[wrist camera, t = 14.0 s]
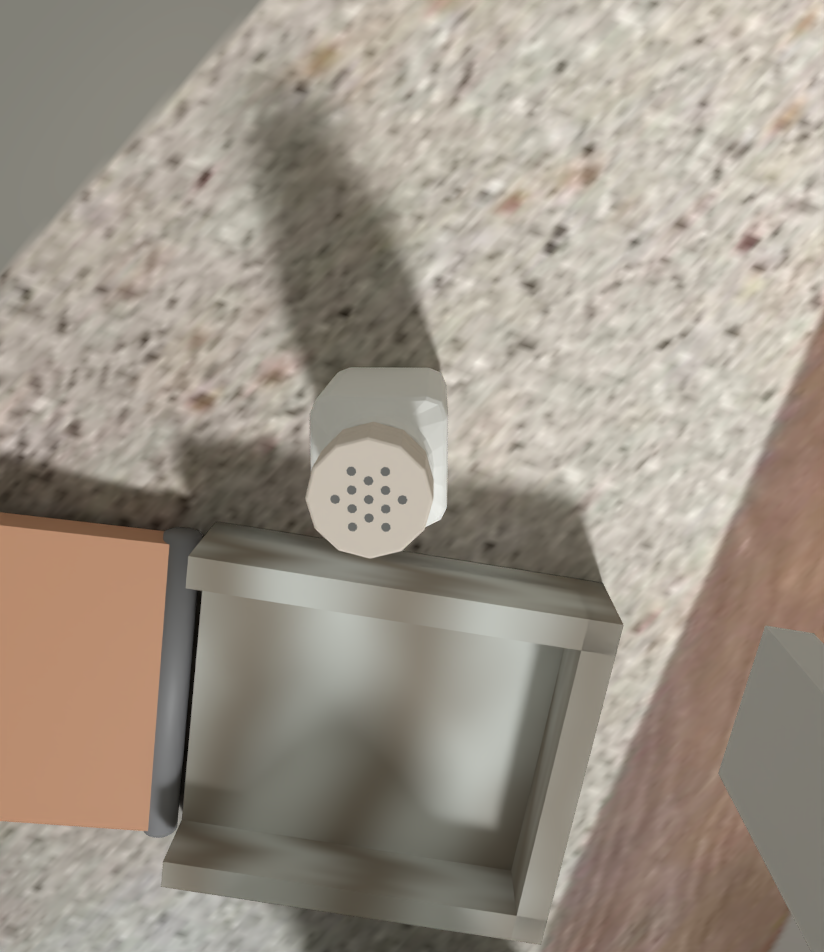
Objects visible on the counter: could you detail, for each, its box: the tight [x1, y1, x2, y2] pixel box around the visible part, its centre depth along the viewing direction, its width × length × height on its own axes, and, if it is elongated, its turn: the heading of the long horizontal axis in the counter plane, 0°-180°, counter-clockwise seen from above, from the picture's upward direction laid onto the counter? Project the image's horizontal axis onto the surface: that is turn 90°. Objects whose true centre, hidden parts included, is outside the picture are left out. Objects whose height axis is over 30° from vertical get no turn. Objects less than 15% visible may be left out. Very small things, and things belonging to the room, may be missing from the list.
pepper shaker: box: [305, 367, 448, 558], centre depth 24 cm, size 4×4×10 cm
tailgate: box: [0, 512, 202, 838], centre depth 30 cm, size 1×13×13 cm
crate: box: [161, 522, 623, 945], centre depth 30 cm, size 15×14×4 cm
